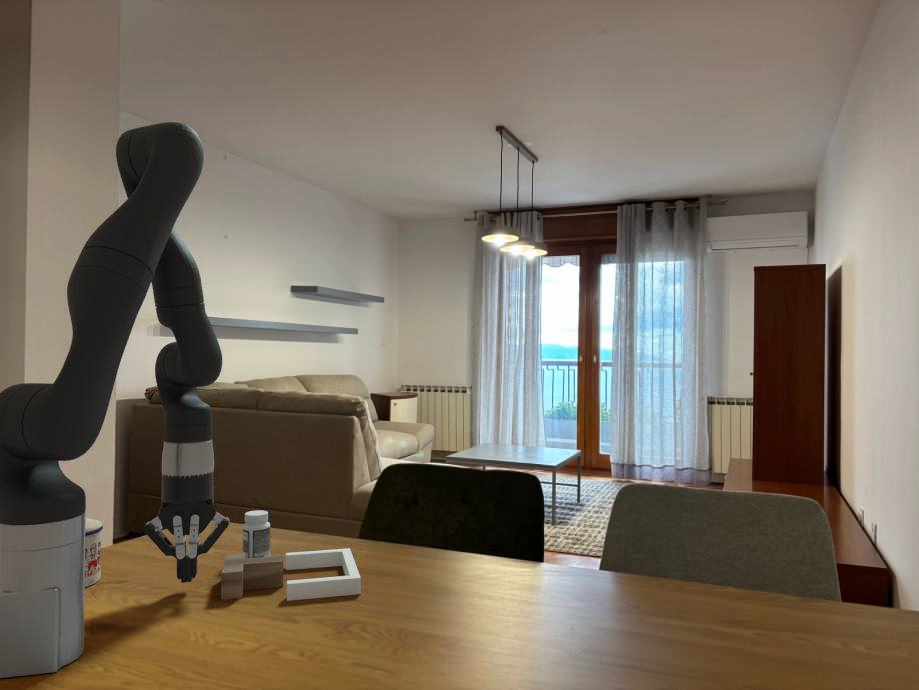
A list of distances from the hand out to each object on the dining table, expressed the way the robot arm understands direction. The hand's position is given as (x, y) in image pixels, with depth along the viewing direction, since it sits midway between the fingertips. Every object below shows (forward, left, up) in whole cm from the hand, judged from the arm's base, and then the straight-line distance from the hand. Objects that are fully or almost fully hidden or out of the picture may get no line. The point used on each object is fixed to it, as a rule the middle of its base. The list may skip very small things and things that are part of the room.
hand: (187, 580), depth 103 cm
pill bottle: (+14, -10, -2) cm, 17 cm away
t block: (0, -10, -2) cm, 10 cm away
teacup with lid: (+10, +18, -2) cm, 21 cm away
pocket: (0, -20, -2) cm, 20 cm away
